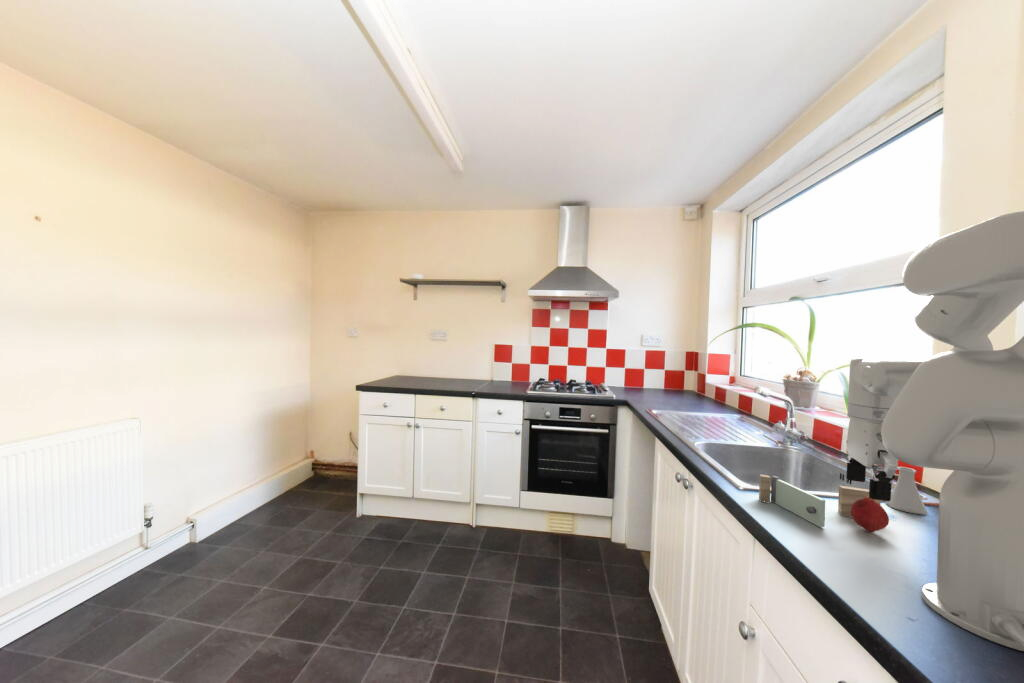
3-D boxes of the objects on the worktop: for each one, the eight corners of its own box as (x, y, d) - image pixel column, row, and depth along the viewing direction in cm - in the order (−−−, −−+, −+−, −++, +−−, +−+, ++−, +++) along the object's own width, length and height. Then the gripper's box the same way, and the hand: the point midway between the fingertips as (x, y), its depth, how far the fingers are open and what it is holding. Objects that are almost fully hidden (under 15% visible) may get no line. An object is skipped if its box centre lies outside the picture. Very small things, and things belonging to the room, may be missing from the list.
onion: (861, 536, 75) (862, 499, 75) (843, 523, 81) (844, 488, 81) (895, 541, 74) (896, 503, 73) (875, 527, 79) (876, 491, 79)
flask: (932, 518, 84) (933, 476, 84) (888, 509, 88) (889, 469, 88) (922, 507, 89) (923, 468, 89) (881, 499, 94) (882, 461, 94)
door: (816, 527, 78) (817, 499, 78) (766, 500, 91) (767, 476, 91) (825, 527, 78) (826, 498, 78) (774, 500, 91) (775, 475, 91)
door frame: (879, 521, 82) (880, 493, 82) (760, 501, 91) (761, 476, 91) (876, 518, 83) (876, 490, 83) (759, 498, 92) (759, 474, 92)
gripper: (921, 425, 68) (916, 512, 68) (871, 406, 84) (867, 477, 84) (870, 420, 71) (865, 504, 71) (831, 403, 87) (828, 471, 87)
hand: (866, 489), depth 78 cm, fingers open, 9 cm apart
